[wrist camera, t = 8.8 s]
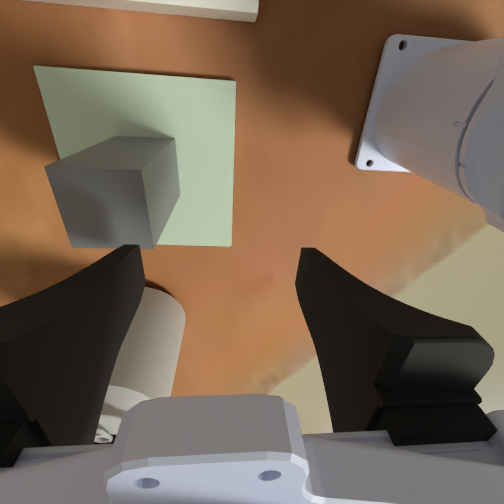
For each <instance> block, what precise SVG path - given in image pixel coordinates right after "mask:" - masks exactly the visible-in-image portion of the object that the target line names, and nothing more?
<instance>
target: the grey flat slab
mask: <svg viewBox="0 0 504 504" xmlns="http://www.w3.org/2000/svg"><path fill="white" fill-rule="evenodd" d="M23 1H34V2H45V3H55V4H66V5H76V6H87V7H97V8H108V9H119V10H129V11H140V12H150V13H161V14H171V15H182V16H193V17H203V18H214V19H224V20H235V21H245V22H255V21H256V18H257V15H258V6H259V0H23Z"/></svg>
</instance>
